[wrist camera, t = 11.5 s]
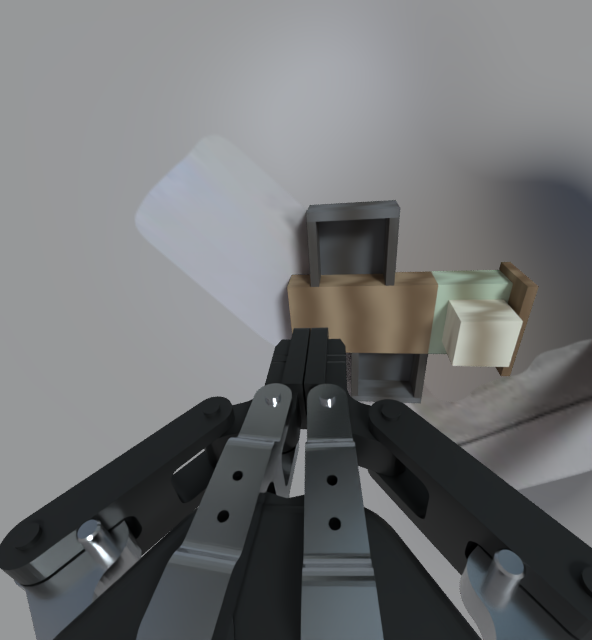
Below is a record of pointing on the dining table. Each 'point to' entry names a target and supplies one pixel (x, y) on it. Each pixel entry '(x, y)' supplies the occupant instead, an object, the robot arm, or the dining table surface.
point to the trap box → (387, 298)
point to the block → (480, 332)
